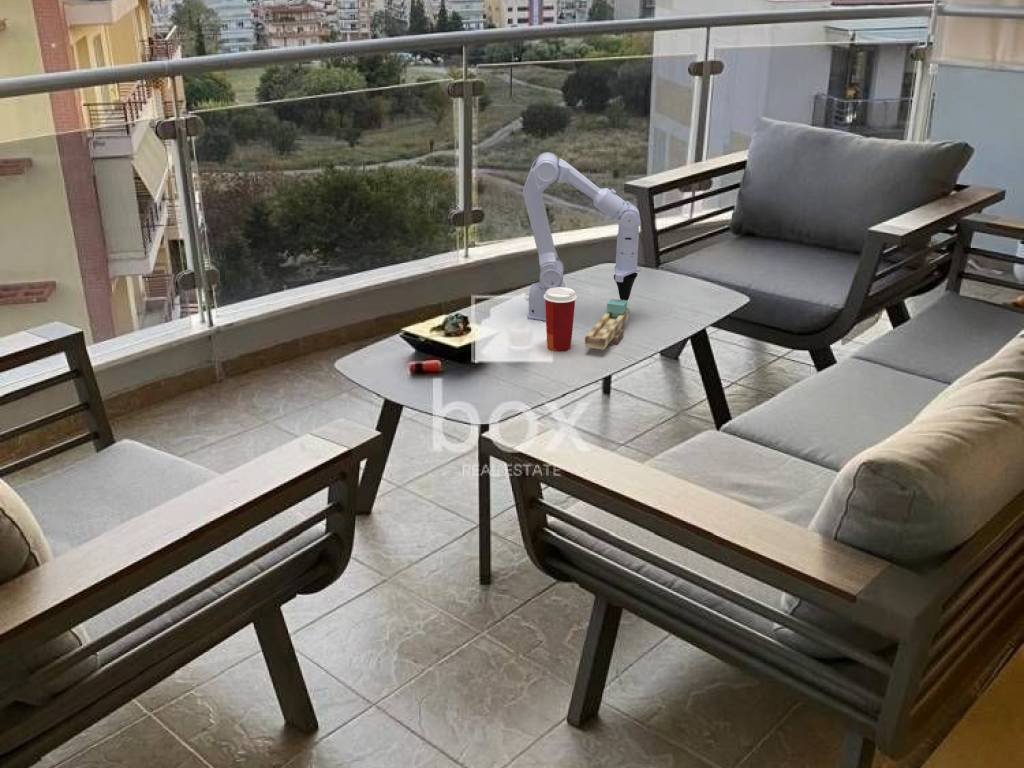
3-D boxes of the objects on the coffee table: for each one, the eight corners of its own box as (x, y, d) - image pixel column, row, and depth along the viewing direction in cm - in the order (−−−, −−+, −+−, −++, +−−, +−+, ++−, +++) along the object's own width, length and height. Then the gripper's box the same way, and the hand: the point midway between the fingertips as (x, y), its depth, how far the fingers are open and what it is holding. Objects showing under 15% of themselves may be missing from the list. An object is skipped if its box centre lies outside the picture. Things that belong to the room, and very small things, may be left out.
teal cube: (622, 319, 267) (623, 305, 265) (606, 316, 268) (607, 303, 267) (626, 314, 270) (627, 300, 269) (610, 312, 272) (611, 298, 270)
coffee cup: (580, 345, 260) (582, 289, 253) (565, 355, 253) (567, 299, 247) (551, 338, 263) (553, 284, 257) (536, 349, 257) (537, 293, 251)
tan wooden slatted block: (607, 357, 252) (608, 340, 250) (580, 353, 255) (581, 336, 253) (632, 325, 273) (633, 309, 271) (607, 321, 275) (607, 305, 273)
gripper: (634, 260, 262) (631, 310, 267) (648, 245, 274) (645, 292, 280) (608, 257, 264) (606, 306, 269) (623, 242, 276) (620, 289, 282)
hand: (624, 299), depth 275 cm, fingers closed
